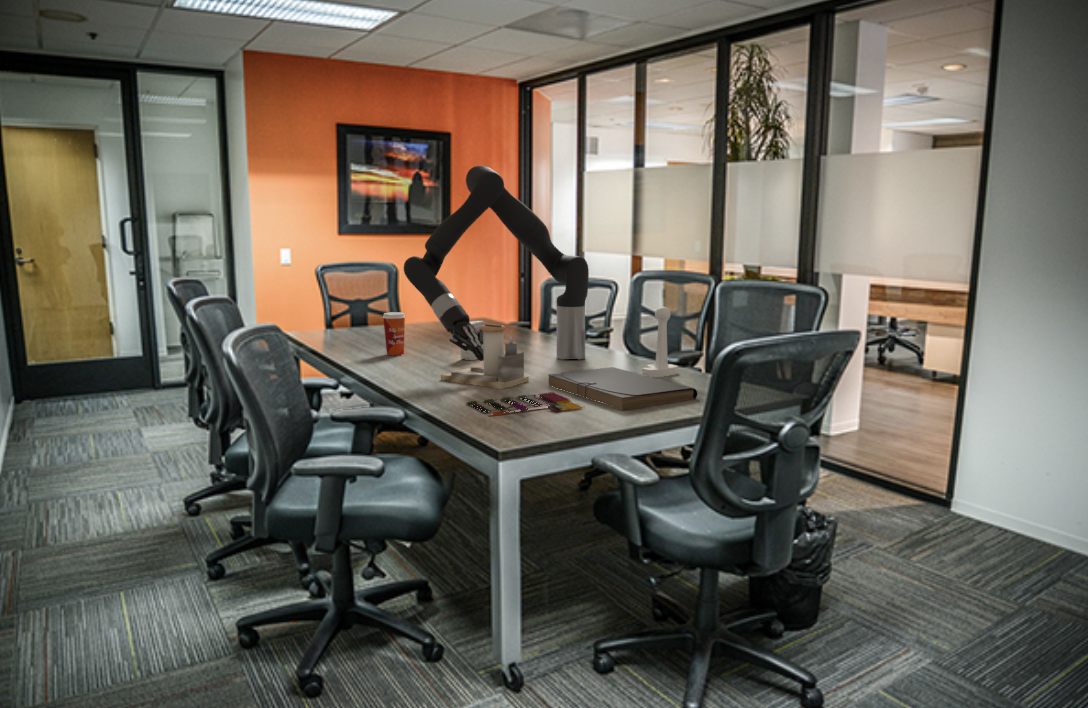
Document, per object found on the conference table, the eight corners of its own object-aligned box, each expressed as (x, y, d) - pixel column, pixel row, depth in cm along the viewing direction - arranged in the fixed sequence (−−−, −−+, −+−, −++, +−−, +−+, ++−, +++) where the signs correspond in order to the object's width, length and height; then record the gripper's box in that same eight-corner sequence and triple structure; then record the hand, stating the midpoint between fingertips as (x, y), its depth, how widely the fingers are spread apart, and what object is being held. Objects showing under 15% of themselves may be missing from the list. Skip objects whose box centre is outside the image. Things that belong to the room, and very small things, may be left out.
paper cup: (391, 357, 252) (389, 315, 249) (379, 354, 257) (377, 313, 255) (411, 354, 257) (410, 313, 255) (399, 351, 263) (398, 311, 260)
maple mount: (440, 379, 216) (440, 350, 214) (468, 372, 225) (467, 344, 224) (502, 389, 203) (501, 358, 202) (528, 381, 213) (528, 351, 212)
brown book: (547, 373, 207) (618, 365, 219) (546, 387, 208) (617, 379, 220) (621, 396, 179) (697, 386, 192) (621, 413, 180) (697, 402, 192)
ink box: (473, 355, 255) (472, 320, 253) (486, 356, 253) (485, 321, 251) (459, 359, 247) (458, 323, 245) (472, 360, 245) (472, 324, 243)
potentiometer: (502, 354, 207) (502, 336, 206) (510, 352, 210) (509, 334, 209) (512, 355, 205) (512, 337, 205) (519, 354, 208) (519, 335, 207)
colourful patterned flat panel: (554, 396, 198) (554, 386, 197) (589, 411, 183) (589, 400, 182) (465, 407, 186) (465, 396, 186) (494, 424, 171) (494, 412, 171)
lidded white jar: (477, 376, 211) (476, 325, 209) (492, 372, 217) (491, 322, 214) (495, 379, 208) (495, 326, 205) (510, 375, 213) (509, 324, 210)
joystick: (651, 378, 217) (653, 308, 213) (634, 374, 223) (635, 306, 220) (680, 374, 223) (682, 306, 219) (663, 369, 229) (665, 303, 226)
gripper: (458, 318, 225) (491, 363, 220) (427, 323, 215) (461, 371, 210) (472, 302, 221) (505, 347, 216) (440, 306, 211) (475, 354, 206)
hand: (483, 359), depth 213 cm, fingers closed
